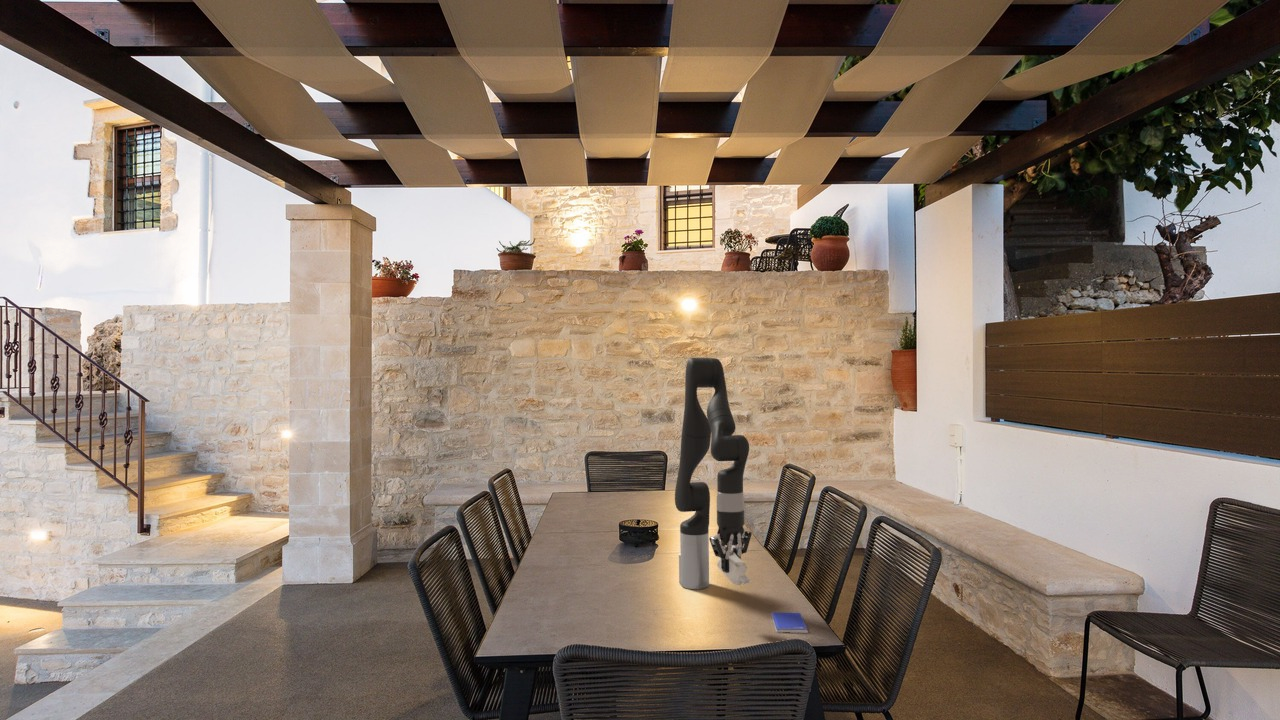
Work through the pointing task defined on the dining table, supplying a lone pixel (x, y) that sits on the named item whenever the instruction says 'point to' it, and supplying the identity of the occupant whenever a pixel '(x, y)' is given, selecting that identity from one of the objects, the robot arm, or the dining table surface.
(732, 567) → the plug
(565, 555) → the dining table surface
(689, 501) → the robot arm
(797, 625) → the hard drive
